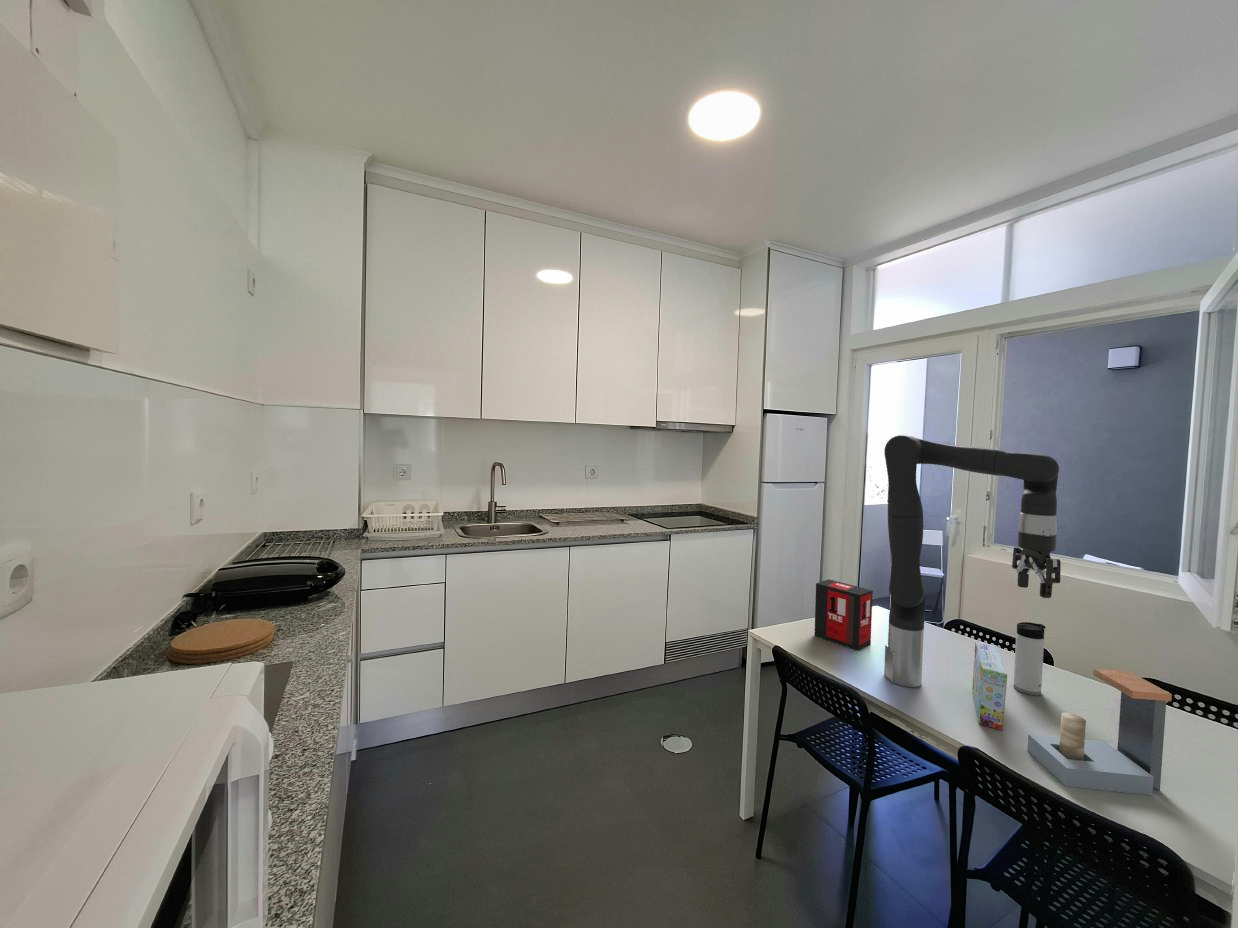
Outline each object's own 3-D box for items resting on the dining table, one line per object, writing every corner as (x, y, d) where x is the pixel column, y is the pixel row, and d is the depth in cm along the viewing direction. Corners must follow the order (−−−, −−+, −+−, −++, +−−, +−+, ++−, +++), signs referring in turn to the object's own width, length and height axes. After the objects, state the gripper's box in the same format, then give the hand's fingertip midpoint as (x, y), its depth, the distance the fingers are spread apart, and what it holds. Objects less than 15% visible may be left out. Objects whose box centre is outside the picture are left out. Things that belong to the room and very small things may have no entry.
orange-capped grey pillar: (1126, 789, 102) (1132, 691, 101) (1088, 758, 112) (1093, 668, 110) (1164, 793, 101) (1171, 694, 99) (1122, 761, 110) (1128, 671, 109)
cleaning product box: (870, 644, 173) (872, 590, 172) (858, 651, 167) (860, 595, 166) (827, 629, 186) (828, 579, 185) (814, 635, 180) (816, 583, 179)
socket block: (1065, 785, 103) (1066, 767, 102) (1027, 749, 114) (1028, 733, 114) (1152, 795, 100) (1153, 776, 100) (1104, 757, 112) (1105, 740, 112)
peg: (1067, 774, 106) (1070, 721, 106) (1053, 762, 110) (1056, 711, 110) (1087, 776, 106) (1090, 723, 105) (1073, 764, 110) (1076, 713, 109)
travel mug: (1047, 696, 138) (1051, 629, 137) (1021, 694, 140) (1025, 627, 139) (1033, 685, 144) (1037, 621, 143) (1008, 683, 146) (1012, 619, 145)
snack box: (1005, 732, 122) (1008, 674, 121) (978, 724, 125) (980, 668, 124) (994, 694, 140) (997, 644, 139) (970, 689, 143) (973, 639, 142)
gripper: (1003, 525, 133) (1000, 583, 134) (1040, 536, 119) (1036, 600, 120) (1034, 526, 132) (1031, 584, 132) (1074, 537, 117) (1070, 602, 118)
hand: (1033, 592), depth 126 cm, fingers open, 8 cm apart
